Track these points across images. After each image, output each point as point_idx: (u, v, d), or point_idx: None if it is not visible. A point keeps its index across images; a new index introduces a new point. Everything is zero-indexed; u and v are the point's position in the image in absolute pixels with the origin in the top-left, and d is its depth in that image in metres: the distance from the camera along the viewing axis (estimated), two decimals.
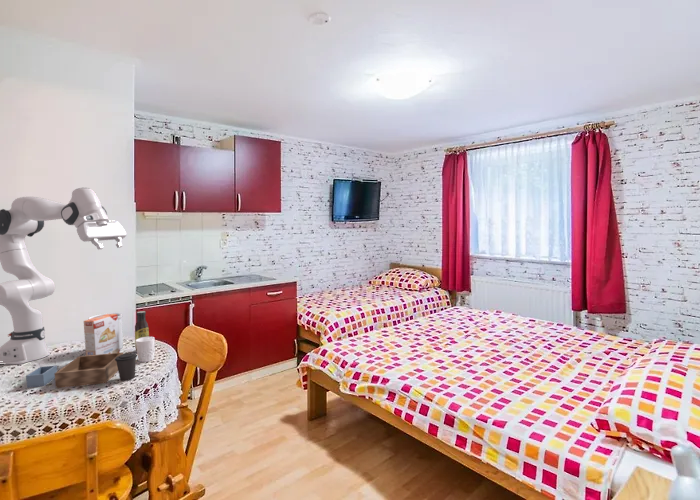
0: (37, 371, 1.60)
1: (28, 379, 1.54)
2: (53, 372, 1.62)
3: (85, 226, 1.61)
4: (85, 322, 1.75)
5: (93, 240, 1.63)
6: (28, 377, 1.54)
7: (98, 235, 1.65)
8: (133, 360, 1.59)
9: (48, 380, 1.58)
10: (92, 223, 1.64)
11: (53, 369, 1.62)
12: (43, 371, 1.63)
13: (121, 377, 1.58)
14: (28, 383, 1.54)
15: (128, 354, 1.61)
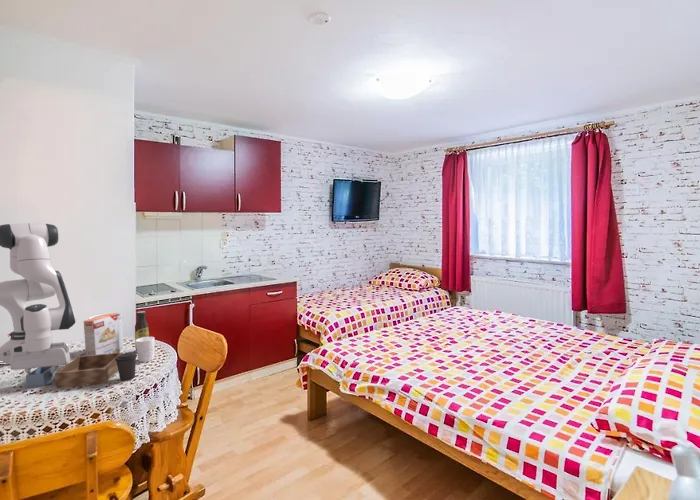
0: (37, 370, 1.60)
1: (28, 378, 1.54)
2: None
3: (12, 357, 1.54)
4: (85, 322, 1.75)
5: None
6: (28, 376, 1.54)
7: (26, 366, 1.56)
8: (133, 360, 1.59)
9: (48, 380, 1.58)
10: (21, 354, 1.55)
11: None
12: (43, 371, 1.63)
13: (121, 377, 1.58)
14: (28, 382, 1.54)
15: (128, 354, 1.61)
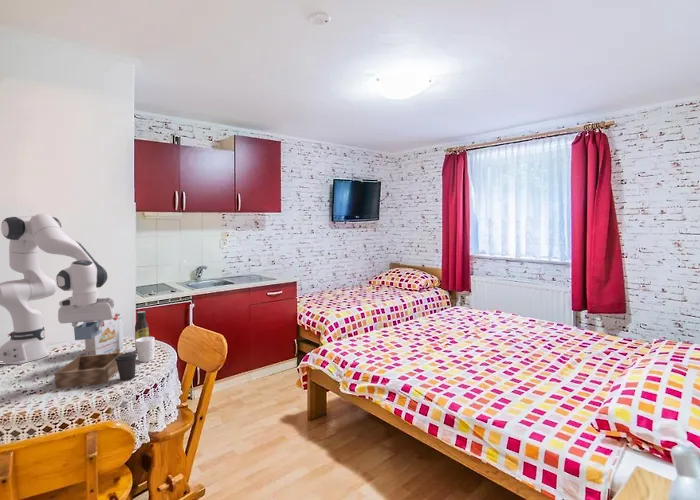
0: (82, 325, 1.63)
1: (76, 331, 1.57)
2: None
3: (60, 311, 1.57)
4: None
5: None
6: (76, 329, 1.57)
7: (73, 320, 1.59)
8: (133, 360, 1.59)
9: (94, 334, 1.61)
10: (69, 308, 1.58)
11: (98, 324, 1.65)
12: (88, 326, 1.66)
13: (121, 377, 1.58)
14: (76, 335, 1.57)
15: (128, 354, 1.61)
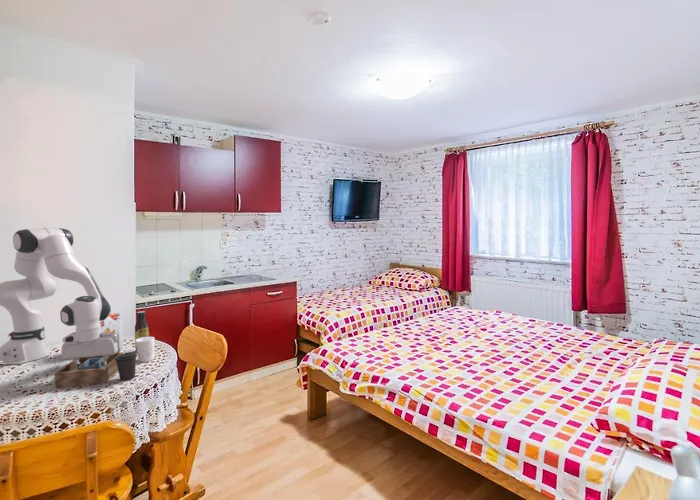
0: (86, 362, 1.64)
1: None
2: None
3: (63, 347, 1.59)
4: None
5: None
6: (79, 368, 1.58)
7: (77, 356, 1.61)
8: (133, 360, 1.59)
9: None
10: (72, 344, 1.59)
11: (101, 361, 1.67)
12: (91, 363, 1.68)
13: (121, 377, 1.58)
14: None
15: (128, 354, 1.61)
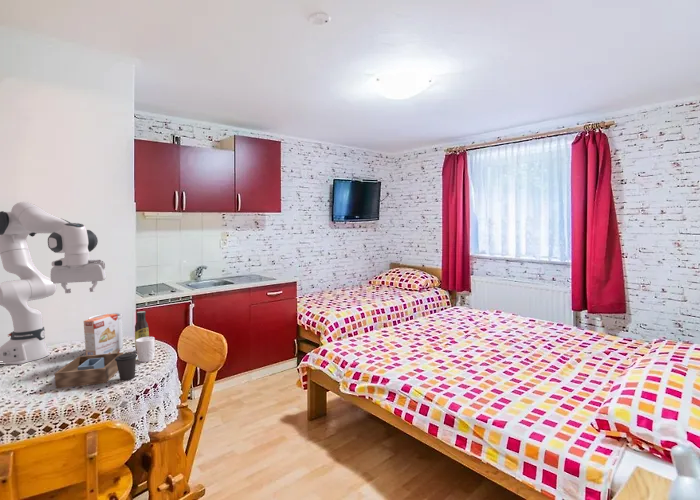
0: (86, 362, 1.64)
1: None
2: (101, 364, 1.66)
3: (52, 271, 1.62)
4: (85, 322, 1.75)
5: None
6: (79, 368, 1.58)
7: (65, 281, 1.64)
8: (133, 360, 1.59)
9: None
10: (61, 268, 1.63)
11: (101, 361, 1.67)
12: (91, 363, 1.68)
13: (121, 377, 1.58)
14: None
15: (128, 354, 1.61)
